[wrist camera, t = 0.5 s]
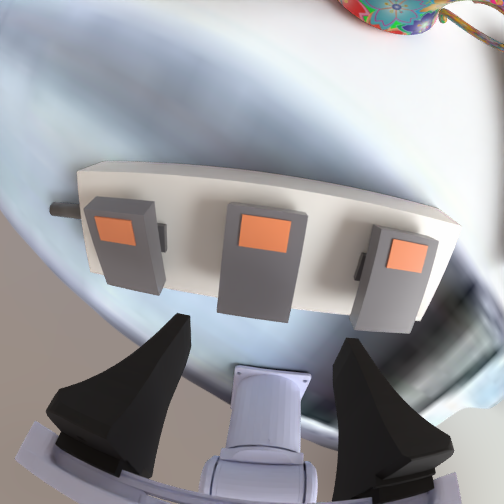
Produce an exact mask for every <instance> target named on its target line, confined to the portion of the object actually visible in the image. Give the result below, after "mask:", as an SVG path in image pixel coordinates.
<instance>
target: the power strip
mask: <svg viewBox="0 0 504 504" xmlns="http://www.w3.org/2000/svg"><path fill="white" fill-rule="evenodd" d="M77 182H78V194H79V204H69V203H58V202H53V203H52V204H51V205H50V214H51V215H52V216H59V217H67V218H75V219H81V220H82V227H83V234H84V240H85V246H86V252H87V257H88V262H89V267H90V272H93V273H97V274H101V275H104V274H103V271H102V268H101V265H100V262H99V259H98V256H97V253H96V250H95V247H94V244H93V241H92V238H91V235H90V231H89V228H88V224H87V221H86V217H85V214H84V210H83V208H84V207H85V206H86V205H88V204H89V203H90V202H91V201H92V200H93V199H94V198H95V197H96V196H100V197H112V198H124V199H136V200H146V201H155V210H156V218H157V225H158V232H159V239H160V246H161V252H162V258H163V264H164V270H165V276H166V282H165V284H164V286H163V288H167V289H173V290H178V291H183V292H189V293H194V294H200V295H206V296H212V297H217V298H218V292H219V281H220V271H221V261H222V251H223V241H224V232H225V223H226V214H227V205H228V204H229V203H230V202H239V203H247V204H254V205H261V206H268V207H275V208H282V209H289V210H295V211H301V212H306V214H307V215H308V221H307V227H306V233H305V238H304V244H303V250H302V255H301V261H300V266H299V271H298V276H297V281H296V286H295V291H294V296H293V301H292V306H291V308H292V309H300V310H308V311H316V312H325V313H334V314H344V315H350V314H351V311H352V307H353V304H354V300H355V297H356V293H357V289H358V286H359V282H360V278H361V274H362V270H363V266H364V262H365V258H366V254H367V249H368V245H369V240H370V236H371V231H372V226H373V224H375V225H380V226H385V227H390V228H395V229H399V230H404V231H409V232H413V233H418V234H422V235H427V236H429V237H432V238H434V239H436V240H438V241H439V244H438V248H437V252H436V256H435V260H434V264H433V267H432V271H431V274H430V278H429V281H428V284H427V287H426V290H425V293H424V296H423V299H422V302H421V305H420V308H419V311H418V314H417V316H416V319H415V320H418V321H420V320H421V318H422V317H423V315H424V313H425V311H426V309H427V307H428V305H429V303H430V301H431V299H432V297H433V295H434V293H435V291H436V289H437V287H438V285H439V283H440V280H441V278H442V276H443V274H444V271H445V269H446V267H447V264H448V262H449V259H450V257H451V255H452V252H453V249H454V247H455V244H456V242H457V239H458V236H459V233H460V230H461V227H462V226H461V225H460V224H458V223H457V222H456V221H454V220H453V219H452V218H450V217H449V216H448V215H447V214H445V213H444V212H442V211H441V210H440V209H438V208H434V207H431V206H427V205H424V204H420V203H416V202H413V201H409V200H405V199H401V198H397V197H393V196H389V195H385V194H380V193H376V192H372V191H367V190H363V189H358V188H353V187H348V186H343V185H338V184H333V183H328V182H322V181H317V180H311V179H305V178H299V177H293V176H287V175H280V174H273V173H266V172H258V171H251V170H242V169H233V168H224V167H214V166H203V165H191V164H177V163H159V162H134V161H103V162H100V163H97V164H95V165H92V166H89V167H87V168H84V169H81V170H79V171H77Z"/></svg>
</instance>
